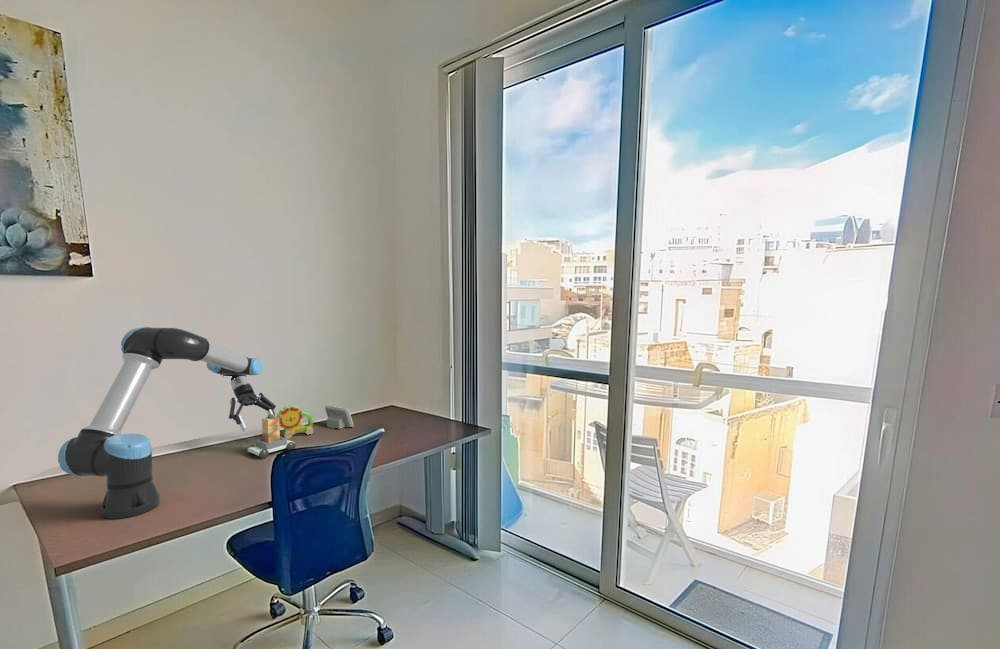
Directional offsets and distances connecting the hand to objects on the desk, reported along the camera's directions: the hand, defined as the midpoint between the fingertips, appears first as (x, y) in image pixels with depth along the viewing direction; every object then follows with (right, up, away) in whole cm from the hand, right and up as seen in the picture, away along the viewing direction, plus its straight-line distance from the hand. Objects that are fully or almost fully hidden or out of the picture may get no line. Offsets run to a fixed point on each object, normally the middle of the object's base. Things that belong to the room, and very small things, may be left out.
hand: (259, 425), depth 211 cm
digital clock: (+24, -8, +33) cm, 42 cm away
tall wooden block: (+8, -7, -5) cm, 12 cm away
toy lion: (+9, -9, +17) cm, 21 cm away
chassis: (+8, -10, -5) cm, 14 cm away
